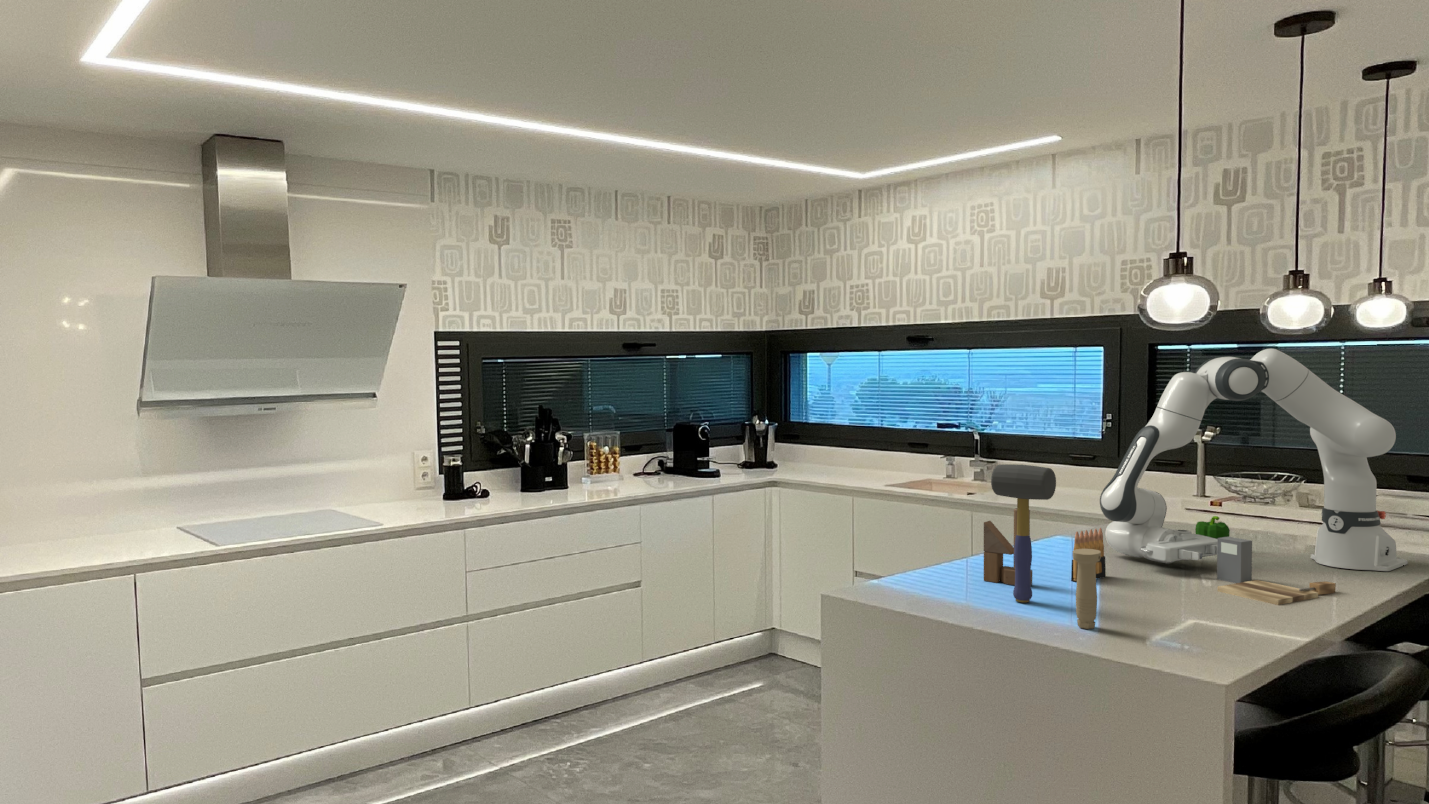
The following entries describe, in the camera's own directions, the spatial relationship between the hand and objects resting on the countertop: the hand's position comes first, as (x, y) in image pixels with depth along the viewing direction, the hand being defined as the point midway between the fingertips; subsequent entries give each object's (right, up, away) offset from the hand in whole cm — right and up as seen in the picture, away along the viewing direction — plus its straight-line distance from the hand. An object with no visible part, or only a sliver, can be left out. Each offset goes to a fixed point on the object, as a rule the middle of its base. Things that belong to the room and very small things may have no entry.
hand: (1213, 554), depth 231 cm
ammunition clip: (-31, -6, -1) cm, 31 cm away
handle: (-48, -8, -43) cm, 65 cm away
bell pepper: (+16, -4, +31) cm, 35 cm away
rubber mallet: (-54, -7, -23) cm, 59 cm away
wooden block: (-51, -6, -5) cm, 52 cm away
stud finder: (+2, -6, -5) cm, 8 cm away
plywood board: (+2, -6, -18) cm, 19 cm away
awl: (+13, -6, -19) cm, 23 cm away
